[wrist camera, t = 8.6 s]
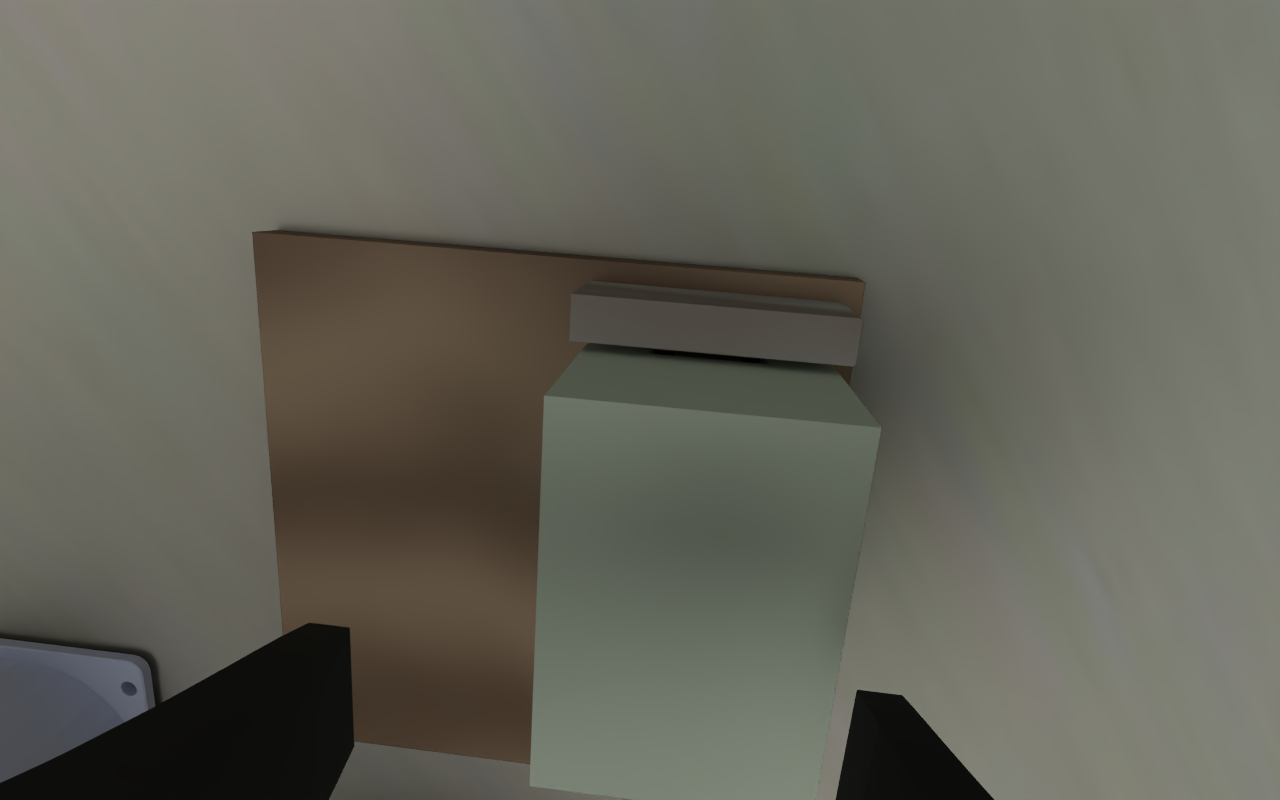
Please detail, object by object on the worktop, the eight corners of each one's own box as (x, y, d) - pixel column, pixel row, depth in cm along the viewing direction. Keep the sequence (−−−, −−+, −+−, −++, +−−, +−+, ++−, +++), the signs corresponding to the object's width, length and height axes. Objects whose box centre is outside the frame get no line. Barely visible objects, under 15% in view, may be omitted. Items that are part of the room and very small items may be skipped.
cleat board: (779, 770, 22) (793, 875, 18) (307, 710, 23) (239, 799, 19) (856, 278, 18) (892, 296, 14) (275, 230, 19) (181, 236, 15)
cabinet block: (779, 638, 19) (811, 823, 14) (580, 615, 20) (529, 786, 14) (822, 351, 17) (881, 428, 11) (597, 331, 17) (543, 395, 12)
